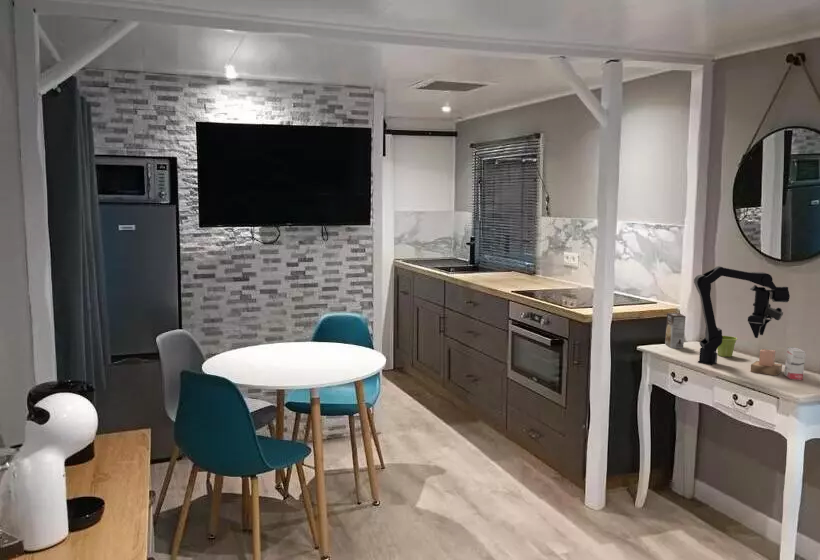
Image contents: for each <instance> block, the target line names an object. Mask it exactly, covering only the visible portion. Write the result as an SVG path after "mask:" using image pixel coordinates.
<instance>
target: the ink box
mask: <svg viewBox="0 0 820 560" xmlns="http://www.w3.org/2000/svg"><path fill="white" fill-rule="evenodd" d="M806 355H807V352H806V351H805V350H803V349H801V348H799V347H793V346H792V347H790V346H787V348H786V356H785V363H784V372H783V373H784V376H785V377H787V378H788V379H790V380H796V381H797V380H798V381H803V379H804V372H805V371H804V370H805V362H806Z"/></svg>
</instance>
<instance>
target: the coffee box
mask: <svg viewBox="0 0 820 560" xmlns="http://www.w3.org/2000/svg"><path fill="white" fill-rule="evenodd" d="M665 324H666V325H665V340H664V343H665V346H667V347H669V348H671V349H684V345H685V344H684V343H685V330H686V328H685V327H686V316H685V315H684V314H681V313H679V312H678V313H677V312H676V313H675V312H667V313H666V323H665Z"/></svg>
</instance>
